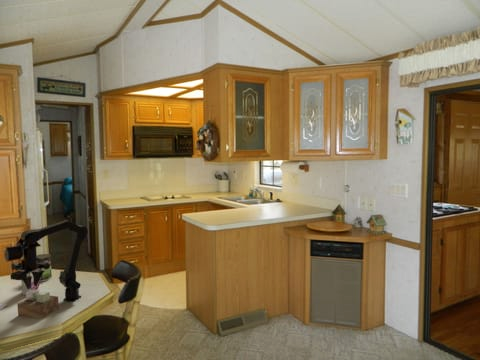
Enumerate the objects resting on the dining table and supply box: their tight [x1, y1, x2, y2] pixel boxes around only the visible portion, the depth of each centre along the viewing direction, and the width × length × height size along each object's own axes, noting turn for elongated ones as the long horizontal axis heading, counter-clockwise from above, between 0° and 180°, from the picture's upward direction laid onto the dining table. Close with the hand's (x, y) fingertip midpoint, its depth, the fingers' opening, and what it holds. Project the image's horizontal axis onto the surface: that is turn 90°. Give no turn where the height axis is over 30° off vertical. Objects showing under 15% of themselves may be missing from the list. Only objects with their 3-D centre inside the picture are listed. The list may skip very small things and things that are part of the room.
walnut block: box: [17, 295, 60, 320], centre depth 185 cm, size 12×13×6 cm
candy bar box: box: [19, 269, 40, 296], centre depth 210 cm, size 11×5×16 cm, turn 9°
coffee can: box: [37, 253, 53, 283], centre depth 230 cm, size 10×10×14 cm
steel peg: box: [25, 289, 40, 302], centre depth 185 cm, size 4×4×6 cm
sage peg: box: [36, 290, 51, 303], centre depth 183 cm, size 4×4×6 cm
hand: (32, 287), depth 185 cm, fingers open, 4 cm apart
